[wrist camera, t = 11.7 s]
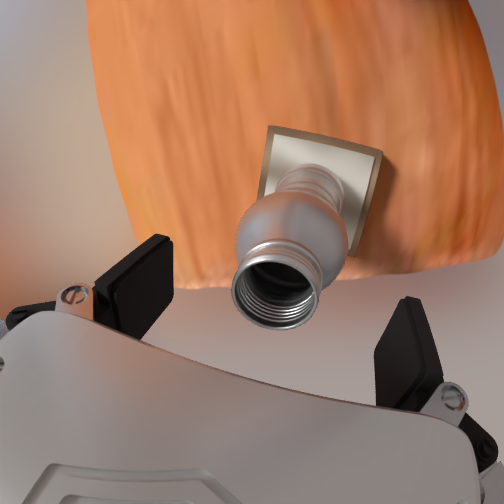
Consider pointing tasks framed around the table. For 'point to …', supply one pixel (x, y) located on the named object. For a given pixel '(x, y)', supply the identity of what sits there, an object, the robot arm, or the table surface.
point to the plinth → (332, 157)
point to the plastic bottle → (290, 248)
